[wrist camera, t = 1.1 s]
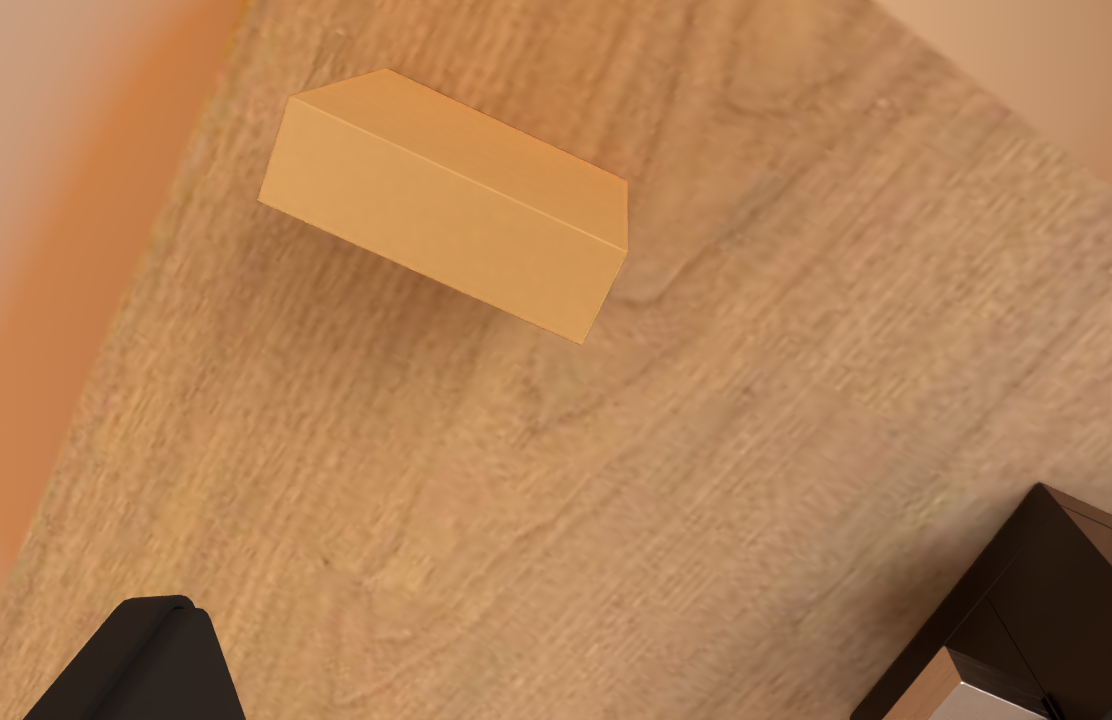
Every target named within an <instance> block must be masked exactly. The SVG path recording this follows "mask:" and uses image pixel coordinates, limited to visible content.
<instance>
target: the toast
mask: <svg viewBox="0 0 1112 720" xmlns="http://www.w3.org/2000/svg"><path fill="white" fill-rule="evenodd" d="M257 201H259V202H261V203H263V204H265V205H267V206H270V207H272V208H274V209H276V210H279V211H281V212H283V213H285V214H288V215H290V216H292V217H294V218H297V219H299V220H301V221H303V222H306V223H308V224H310V225H312V226H314V227H317V228H319V229H321V230H323V231H326V232H328V233H330V234H332V235H335V236H337V237H339V238H341V239H344V240H346V241H348V242H350V243H353V244H355V245H357V246H359V247H361V248H364V249H366V250H368V251H370V252H373V253H375V254H377V255H379V256H382V257H384V258H386V259H388V260H391V261H393V262H395V263H397V264H400V265H402V266H404V267H406V268H408V269H411V270H413V271H415V272H417V273H420V274H422V275H424V276H426V277H429V278H431V279H433V280H435V281H438V282H440V283H442V284H444V285H447V286H449V287H451V288H453V289H455V290H458V291H460V292H462V293H464V294H467V295H469V296H471V297H473V298H476V299H478V300H480V301H482V302H485V303H487V304H489V305H491V306H494V307H496V308H498V309H500V310H502V311H505V312H507V313H509V314H511V315H514V316H516V317H518V318H520V319H523V320H525V321H527V322H529V323H532V324H534V325H536V326H538V327H541V328H543V329H545V330H547V331H549V332H552V333H554V334H556V335H558V336H561V337H563V338H565V339H567V340H570V341H572V342H574V343H576V344H579V345H582V344H583V342H584V340H585V338H586V336H587V334H588V332H589V330H590V328H591V326H592V324H593V322H594V320H595V318H596V316H597V314H598V312H599V310H600V308H601V306H602V304H603V302H604V300H605V298H606V296H607V294H608V292H609V290H610V288H611V286H612V284H613V282H614V280H615V278H616V276H617V274H618V272H619V270H620V268H621V266H622V264H623V262H624V260H625V258H626V256H627V254H628V182H627V181H626V180H624V179H622V178H620V177H617V176H615V175H613V174H611V173H609V172H607V171H605V170H603V169H600V168H598V167H596V166H594V165H592V164H590V163H588V162H585V161H583V160H581V159H579V158H577V157H575V156H573V155H571V154H568V153H566V152H564V151H562V150H560V149H558V148H556V147H554V146H551V145H549V144H547V143H545V142H543V141H541V140H539V139H536V138H534V137H532V136H530V135H528V134H526V133H524V132H522V131H519V130H517V129H515V128H513V127H511V126H509V125H507V124H504V123H502V122H500V121H498V120H496V119H494V118H492V117H490V116H487V115H485V114H483V113H481V112H479V111H477V110H475V109H473V108H470V107H468V106H466V105H464V104H462V103H460V102H458V101H455V100H453V99H451V98H449V97H447V96H445V95H443V94H441V93H438V92H436V91H434V90H432V89H430V88H428V87H426V86H424V85H421V84H419V83H417V82H415V81H413V80H411V79H409V78H406V77H404V76H402V75H400V74H398V73H396V72H394V71H392V70H389V69H387V68H384V69H381V70H378V71H374V72H371V73H367V74H364V75H360V76H357V77H353V78H350V79H346V80H343V81H339V82H336V83H332V84H329V85H325V86H322V87H318V88H315V89H312V90H308V91H305V92H301V93H298V94H294V95H291V96H289V97H288V100H287V103H286V107H285V110H284V113H283V116H282V120H281V123H280V126H279V129H278V133H277V136H276V139H275V143H274V146H273V149H272V152H271V156H270V159H269V162H268V165H267V169H266V172H265V175H264V179H263V182H262V185H261V188H260V192H259V195H258V198H257Z"/></svg>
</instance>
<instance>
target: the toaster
mask: <svg viewBox="0 0 1112 720" xmlns="http://www.w3.org/2000/svg"><path fill="white" fill-rule="evenodd" d="M943 646H945V647H948V648H950V649H952V650H955V651H957V652H959V653H962V654H964V655H966V656H969V657H971V658H973V659H976V660H978V661H980V662H983V663H985V664H987V665H990V666H992V667H994V668H997V669H999V670H1001V671H1004V672H1006V673H1008V674H1011V675H1013V676H1015V677H1018V678H1020V679H1022V680H1025V681H1027V682H1029V683H1030V684H1031V685H1032V687H1033V688H1034V690H1035V692H1036V693H1037V695H1038V697H1039V698H1040V700H1041V702H1042V704H1043V705H1044V707H1045V709H1046V710H1047V712H1048V714H1049V715H1050V717H1051V719H1052V720H1112V515H1111V514H1109V513H1106V512H1104V511H1102V510H1100V509H1098V508H1095V507H1093V506H1091V505H1089V504H1087V503H1085V502H1082V501H1080V500H1078V499H1076V498H1074V497H1071V496H1069V495H1067V494H1065V493H1063V492H1060V491H1058V490H1056V489H1054V488H1052V487H1049V486H1047V485H1045V484H1043V483H1038V484H1037V485H1036V487H1035V488H1034V489H1033V490H1032V491H1031V493H1030V494H1029V495H1028V496H1027V498H1026V499H1025V500H1024V501H1023V503H1022V504H1021V505H1020V506H1019V508H1018V509H1017V510H1016V511H1015V513H1014V514H1013V515H1012V516H1011V518H1010V519H1009V520H1008V521H1007V523H1006V524H1005V525H1004V526H1003V528H1002V529H1001V530H1000V531H999V533H998V534H997V535H996V536H995V538H994V539H993V540H992V541H991V543H990V544H989V545H988V546H987V548H986V549H985V550H984V551H983V553H982V554H981V555H980V556H979V558H978V559H977V560H976V561H975V563H974V564H973V565H972V566H971V568H970V569H969V570H968V571H967V573H966V574H965V575H964V576H963V578H962V579H961V580H960V581H959V583H958V584H957V585H956V586H955V588H954V589H953V590H952V591H951V593H950V594H949V595H948V596H947V597H946V599H945V600H944V601H943V602H942V604H941V605H940V606H939V607H938V609H937V610H936V611H935V612H934V614H933V615H932V616H931V617H930V619H929V620H928V621H927V622H926V624H925V625H924V626H923V627H922V629H921V630H920V631H919V632H918V634H917V635H916V636H915V637H914V639H913V640H912V641H911V642H910V644H909V645H908V646H907V647H906V649H905V650H904V651H903V652H902V654H901V655H900V656H899V657H898V659H897V660H896V661H895V662H894V664H893V665H892V666H891V667H890V669H889V670H888V671H887V672H886V674H885V675H884V676H883V677H882V679H881V680H880V681H879V682H878V684H877V685H876V686H875V687H874V689H873V690H872V691H871V692H870V694H869V695H868V696H867V697H866V699H865V700H864V701H863V702H862V703H861V705H860V706H859V707H858V708H857V710H856V711H855V712H854V713H853V715H852V716H851V717H850V720H882V719H883V718H884V717H885V716H886V715H887V713H888V712H889V711H890V710H891V709H892V707H893V706H894V705H895V704H896V702H897V701H898V700H899V699H900V698H901V696H902V695H903V694H904V693H905V692H906V690H907V689H908V688H909V687H910V686H911V684H912V683H913V682H914V681H915V679H916V678H917V677H918V676H919V675H920V673H921V672H922V671H923V670H924V669H925V667H926V666H927V665H928V664H929V662H930V661H931V660H932V659H933V658H934V656H935V655H936V654H937V653H938V652H939V650H940V649H941V648H942V647H943Z"/></svg>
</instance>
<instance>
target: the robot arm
mask: <svg viewBox="0 0 1112 720" xmlns="http://www.w3.org/2000/svg"><path fill="white" fill-rule="evenodd" d="M23 720H246V718H245V716H244V713H243V710H242V707H241V704H240V701H239V699H238V696H237V693H236V690H235V687H234V684H233V682H232V679H231V676H230V673H229V670H228V667H227V665H226V662H225V659H224V656H223V653H222V650H221V648H220V645H219V642H218V639H217V636H216V633H215V631H214V628H213V625H212V622H211V619H210V617H209V615H208V613H207V612H206V611H205V610H203V609H200V608H195V606H194V604H193V602H192V601H191V600H190V599H189V598H188V597H187V596H182V595H170V596H155V597H139V598H131V599H127V600H124V601H123V602H122V603H121V604H120V605H119V606H117V607H116V609H115V610H114V611H113V612H112V613H111V615H110V616H109V617H108V618H107V619H106V621H105V622H104V623H103V624H102V625H101V627H100V628H99V629H98V630H97V631H96V632H95V634H94V635H93V636H92V637H91V638H90V640H89V641H88V642H87V643H86V644H85V646H84V647H83V648H82V649H81V650H80V652H79V653H78V654H77V655H76V656H75V658H74V659H73V660H72V661H71V662H70V664H69V665H68V666H67V667H66V668H65V670H64V671H63V672H62V673H61V674H60V676H59V677H58V678H57V679H56V680H55V682H54V683H53V684H52V685H51V686H50V688H49V689H48V690H47V691H46V692H45V693H44V695H43V696H42V697H41V698H40V699H39V701H38V702H37V703H36V704H35V705H34V707H33V708H32V709H31V710H30V711H29V713H28V714H27V715H26V716H25V717H24V719H23Z"/></svg>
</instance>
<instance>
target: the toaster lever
mask: <svg viewBox="0 0 1112 720" xmlns="http://www.w3.org/2000/svg"><path fill="white" fill-rule="evenodd" d="M882 720H1052V719H1051V717H1050V715H1049V714H1048V712H1047V710H1046V709H1045V707H1044V705H1043V704H1042V702H1041V700H1040V698H1039V697H1038V695H1037V693H1036V692H1035V690H1034V688H1033V687H1032V685H1031V684H1030V683H1029V682H1027V681H1025V680H1022V679H1020V678H1018V677H1015V676H1013V675H1011V674H1008V673H1006V672H1004V671H1001V670H999V669H997V668H994V667H992V666H990V665H987V664H985V663H983V662H980V661H978V660H976V659H973V658H971V657H969V656H966V655H964V654H962V653H959V652H957V651H955V650H952V649H950V648H948V647H945V646H943V647H942V648H941V649H940V650H939V652H938V653H937V654H936V655H935V656H934V658H933V659H932V660H931V661H930V662H929V664H928V665H927V666H926V667H925V669H924V670H923V671H922V672H921V673H920V675H919V676H918V677H917V678H916V679H915V681H914V682H913V683H912V684H911V686H910V687H909V688H908V689H907V690H906V692H905V693H904V694H903V695H902V696H901V698H900V699H899V700H898V701H897V702H896V704H895V705H894V706H893V707H892V709H891V710H890V711H889V712H888V713H887V715H886V716H885V717H884V718H883V719H882Z"/></svg>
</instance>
